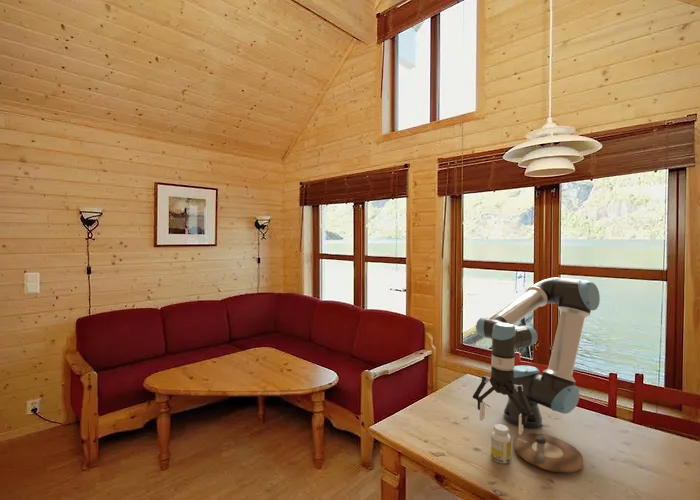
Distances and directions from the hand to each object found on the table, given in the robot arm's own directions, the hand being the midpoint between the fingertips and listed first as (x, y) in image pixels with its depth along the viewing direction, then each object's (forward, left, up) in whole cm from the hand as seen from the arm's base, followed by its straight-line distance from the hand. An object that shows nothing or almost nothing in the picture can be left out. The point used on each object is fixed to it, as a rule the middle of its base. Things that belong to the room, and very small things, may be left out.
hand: (500, 425), depth 129 cm
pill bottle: (0, 0, -12) cm, 12 cm away
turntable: (+12, +13, -11) cm, 21 cm away
